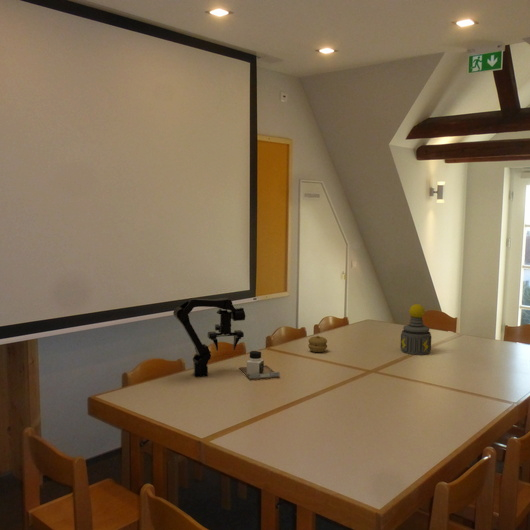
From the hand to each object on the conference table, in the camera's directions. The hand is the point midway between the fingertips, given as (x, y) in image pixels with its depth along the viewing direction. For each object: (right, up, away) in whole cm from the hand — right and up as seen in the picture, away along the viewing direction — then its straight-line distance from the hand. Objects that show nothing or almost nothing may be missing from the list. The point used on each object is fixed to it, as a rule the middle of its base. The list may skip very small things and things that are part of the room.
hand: (225, 350), depth 306 cm
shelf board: (+18, -12, -1) cm, 22 cm away
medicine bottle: (+16, -12, -4) cm, 20 cm away
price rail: (+21, -12, -11) cm, 27 cm away
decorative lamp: (+115, -9, +50) cm, 126 cm away
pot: (+54, -8, +48) cm, 73 cm away
